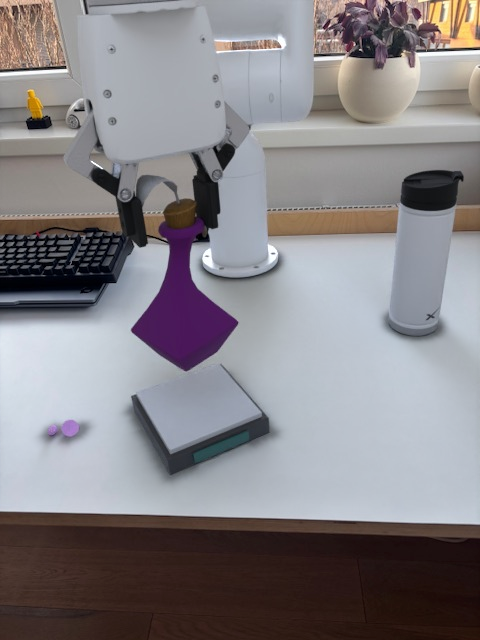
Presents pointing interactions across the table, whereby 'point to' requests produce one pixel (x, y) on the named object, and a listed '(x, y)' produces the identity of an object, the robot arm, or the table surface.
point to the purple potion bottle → (181, 292)
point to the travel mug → (422, 250)
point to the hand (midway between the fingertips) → (173, 230)
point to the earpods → (66, 428)
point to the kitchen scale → (198, 416)
